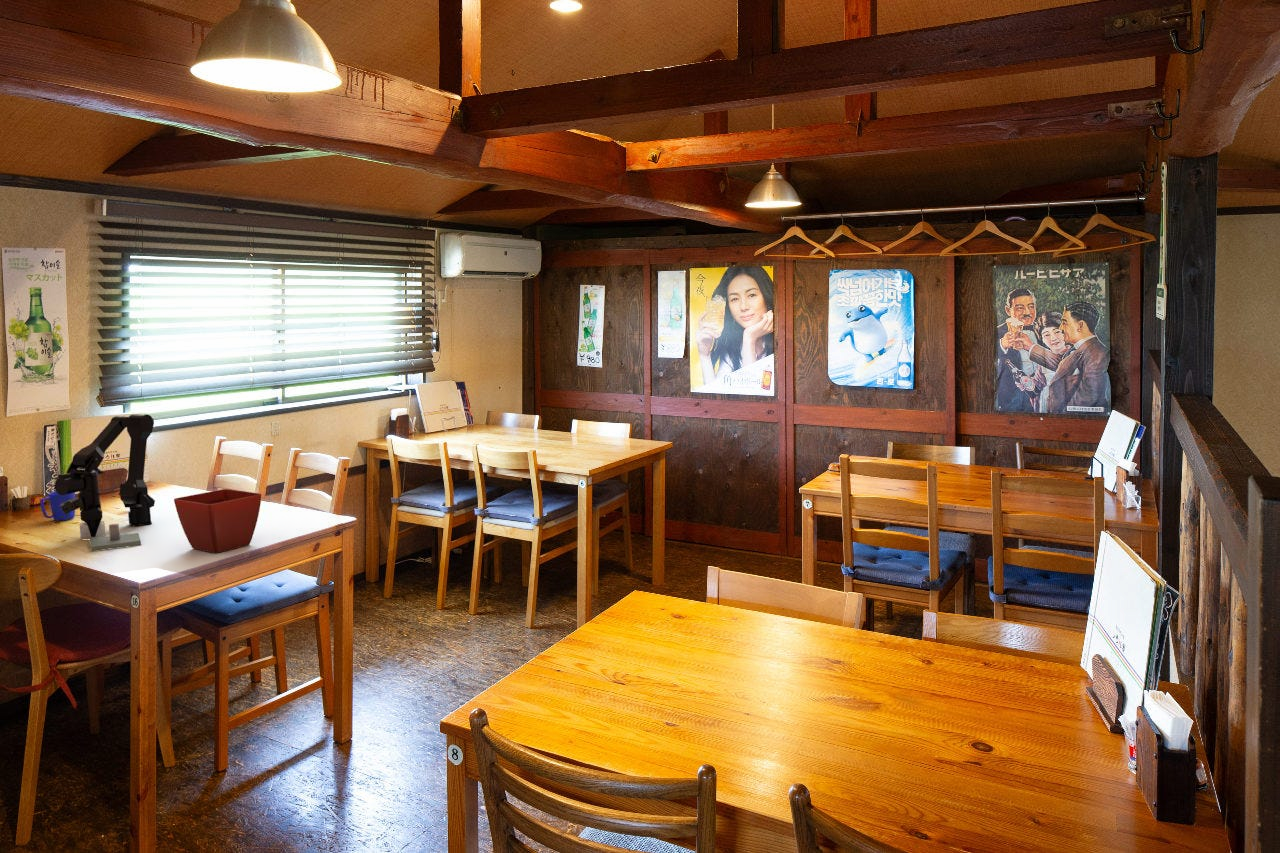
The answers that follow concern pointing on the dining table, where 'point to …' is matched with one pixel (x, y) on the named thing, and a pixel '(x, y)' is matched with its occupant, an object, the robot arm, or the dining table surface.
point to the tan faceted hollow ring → (86, 533)
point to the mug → (58, 506)
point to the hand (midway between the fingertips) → (93, 534)
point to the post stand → (115, 539)
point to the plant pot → (219, 519)
